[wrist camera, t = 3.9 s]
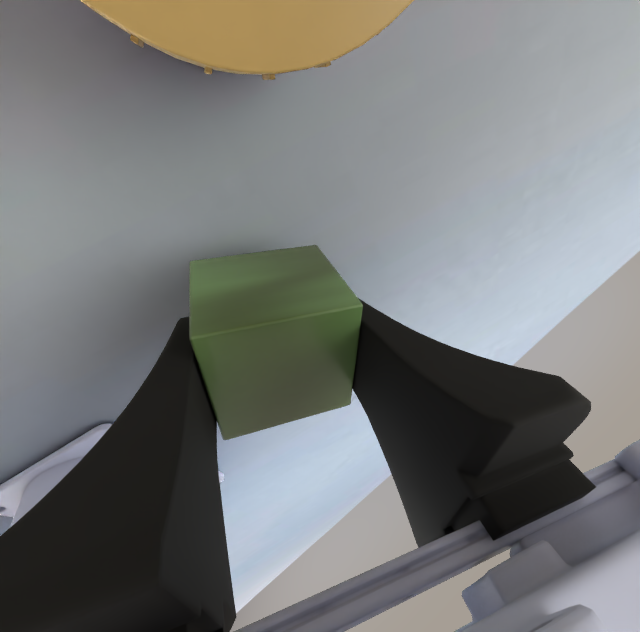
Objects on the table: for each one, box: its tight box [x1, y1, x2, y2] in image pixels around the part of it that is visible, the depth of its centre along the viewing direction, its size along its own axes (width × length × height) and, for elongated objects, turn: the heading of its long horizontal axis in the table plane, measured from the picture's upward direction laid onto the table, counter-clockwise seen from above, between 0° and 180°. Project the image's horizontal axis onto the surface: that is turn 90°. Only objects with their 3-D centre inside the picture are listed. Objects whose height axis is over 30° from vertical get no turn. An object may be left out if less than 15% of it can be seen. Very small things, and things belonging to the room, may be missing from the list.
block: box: [189, 245, 363, 440], centre depth 10 cm, size 4×4×4 cm
